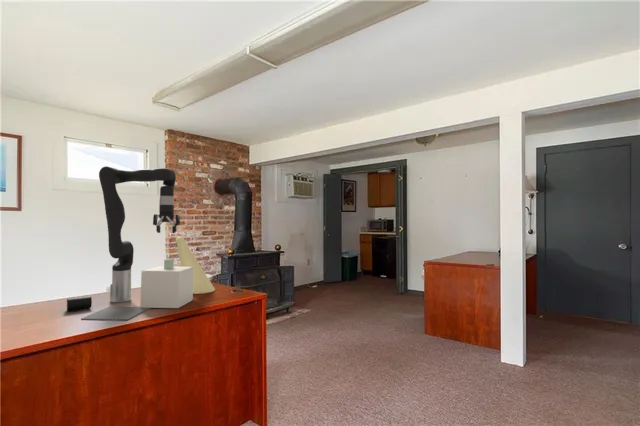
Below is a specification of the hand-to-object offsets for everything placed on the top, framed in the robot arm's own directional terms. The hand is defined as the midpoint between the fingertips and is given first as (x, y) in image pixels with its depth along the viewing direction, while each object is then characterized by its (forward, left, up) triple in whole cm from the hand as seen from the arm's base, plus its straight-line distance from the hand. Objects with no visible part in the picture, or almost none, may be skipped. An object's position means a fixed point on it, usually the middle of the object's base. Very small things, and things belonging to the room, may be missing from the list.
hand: (166, 232), depth 199 cm
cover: (+5, -8, -38) cm, 39 cm away
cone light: (+8, +25, -38) cm, 46 cm away
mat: (-11, -27, -38) cm, 48 cm away
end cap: (-34, -22, -38) cm, 56 cm away
